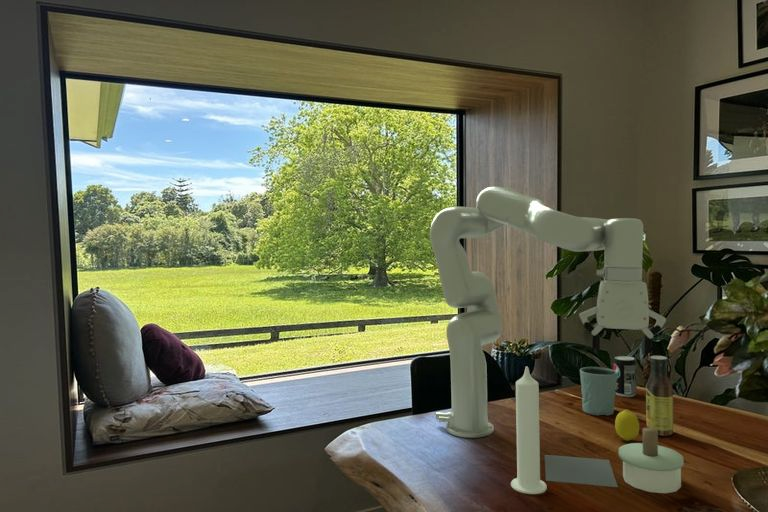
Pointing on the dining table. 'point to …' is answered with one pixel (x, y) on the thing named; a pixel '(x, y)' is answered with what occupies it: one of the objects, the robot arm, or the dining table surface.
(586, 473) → the mat
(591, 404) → the blue-green cup
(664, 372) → the sauce bottle
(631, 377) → the beverage can
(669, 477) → the bowl
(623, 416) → the lemon
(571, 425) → the dining table surface
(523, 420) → the candle
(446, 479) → the dining table surface
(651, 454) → the lid
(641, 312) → the robot arm
